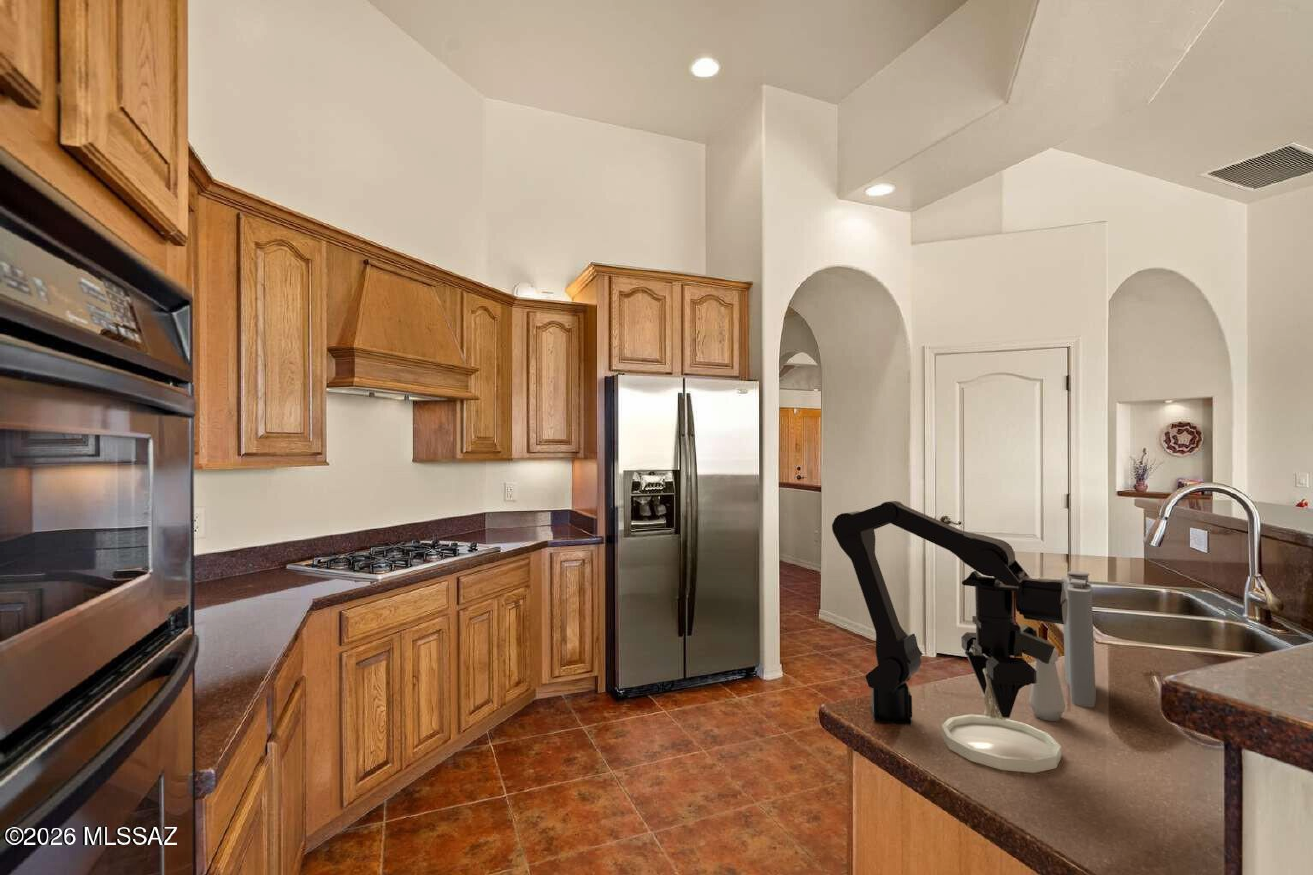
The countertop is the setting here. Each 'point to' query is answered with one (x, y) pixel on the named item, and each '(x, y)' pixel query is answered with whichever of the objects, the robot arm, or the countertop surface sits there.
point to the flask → (1079, 639)
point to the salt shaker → (1047, 691)
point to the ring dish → (1001, 743)
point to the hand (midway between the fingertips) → (996, 707)
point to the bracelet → (990, 708)
